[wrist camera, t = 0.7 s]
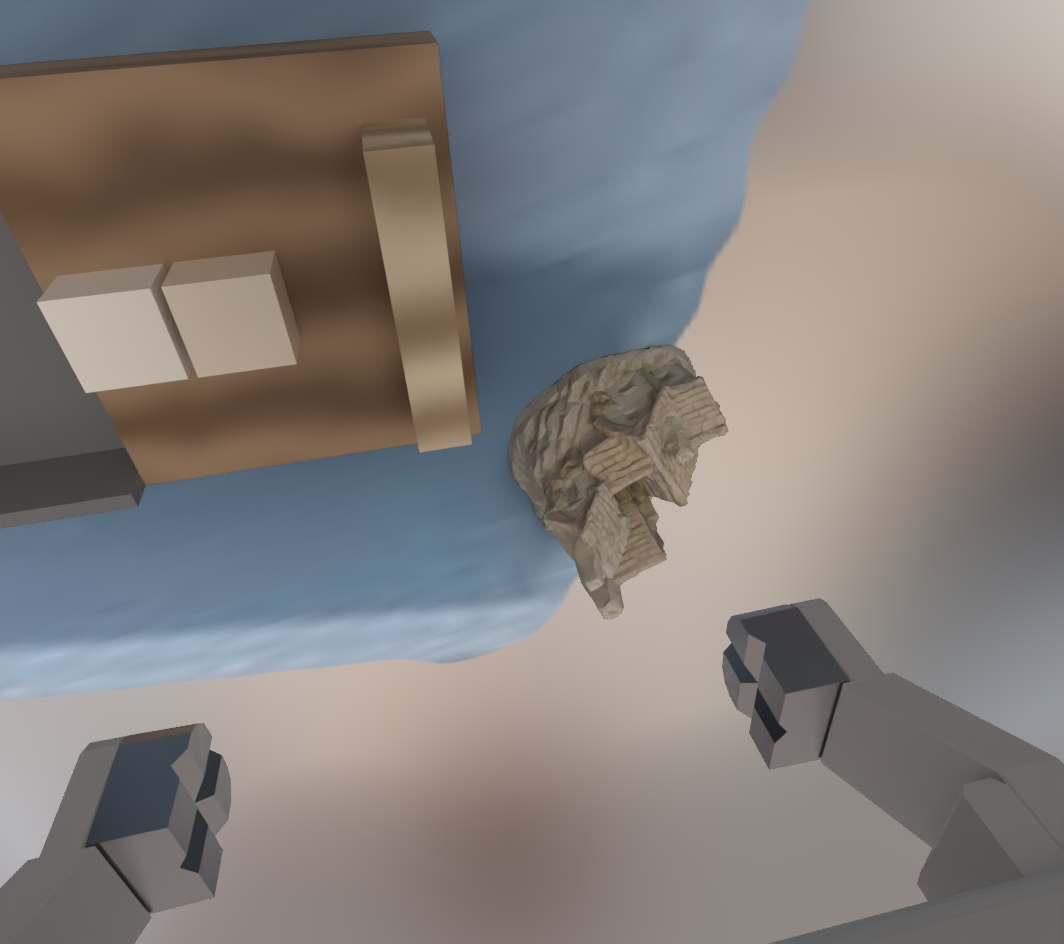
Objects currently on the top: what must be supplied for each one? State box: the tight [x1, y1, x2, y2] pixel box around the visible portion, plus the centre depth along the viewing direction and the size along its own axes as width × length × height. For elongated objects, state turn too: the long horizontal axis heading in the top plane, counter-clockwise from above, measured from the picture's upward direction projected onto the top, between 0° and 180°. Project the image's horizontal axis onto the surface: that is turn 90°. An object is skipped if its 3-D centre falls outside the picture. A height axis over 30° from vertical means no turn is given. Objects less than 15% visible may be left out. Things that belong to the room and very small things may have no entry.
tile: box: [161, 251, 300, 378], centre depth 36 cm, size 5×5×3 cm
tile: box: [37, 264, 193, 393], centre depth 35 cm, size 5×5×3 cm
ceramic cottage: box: [509, 345, 728, 619], centre depth 48 cm, size 16×16×15 cm
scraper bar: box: [362, 118, 472, 453], centre depth 36 cm, size 16×3×5 cm, turn 2°
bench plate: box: [0, 31, 481, 485], centre depth 39 cm, size 22×21×4 cm
